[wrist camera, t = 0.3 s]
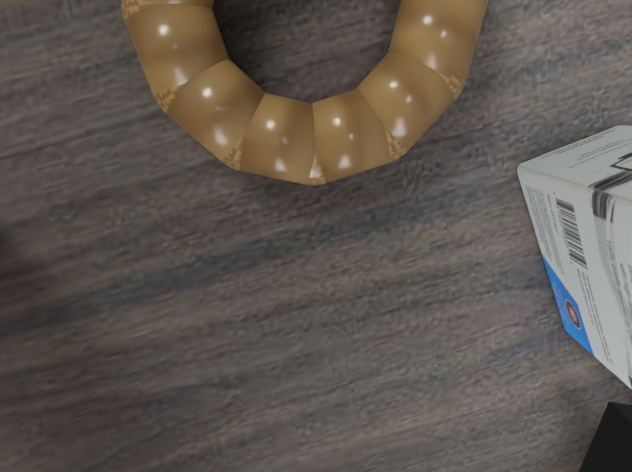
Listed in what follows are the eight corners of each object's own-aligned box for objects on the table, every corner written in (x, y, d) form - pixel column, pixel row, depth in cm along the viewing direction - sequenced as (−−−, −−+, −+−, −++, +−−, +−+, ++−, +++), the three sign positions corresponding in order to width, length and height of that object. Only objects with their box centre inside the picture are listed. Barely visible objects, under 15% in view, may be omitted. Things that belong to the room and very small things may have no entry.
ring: (162, -230, 17) (136, -297, 14) (509, -130, 18) (552, -172, 15) (121, 139, 20) (92, 147, 17) (418, 201, 21) (438, 218, 18)
